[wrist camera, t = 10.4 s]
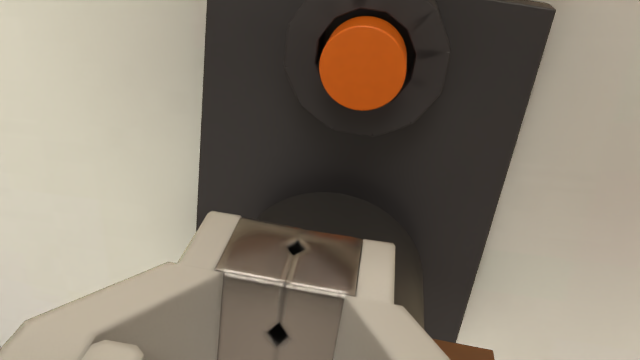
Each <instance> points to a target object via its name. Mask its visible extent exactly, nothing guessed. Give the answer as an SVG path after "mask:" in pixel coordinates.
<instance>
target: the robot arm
mask: <svg viewBox="0 0 640 360" xmlns="http://www.w3.org/2000/svg"><path fill="white" fill-rule="evenodd" d="M394 281H395V245H394V244H393V243H388V242H381V241H374V240H367V239H363V241H362V239H361V238H355V237H349V236H342V235H336V234H330V233H323V232H317V231H311V230H304V229H302V228H297V227H293V226H288V225H283V224H278V223H273V222H268V221H263V220H258V219H253V218H248V217H241V216H240V215H234V214H228V213H222V212H216V211H211V212H209V213H208V214H207V215H206V217H205V219H204V220H203V222H202V223H201V225H200V227H199V228H198V230H197V232H196V233H195V235H194V237H193V238H192V240H191V241H190V243H189V245H188V246H187V248H186V250H185V251H184V253H183V255H182V256H181V258H180V259H179V261H178V263H172V262H167V263H164V264H162V265H159V266H157V267H154V268H152V269H150V270H147V271H145V272H142V273H140V274H137V275H135V276H133V277H130V278H128V279H125V280H123V281H120V282H118V283H116V284H113V285H111V286H108V287H106V288H103V289H101V290H99V291H96V292H94V293H91V294H89V295H87V296H84V297H82V298H79V299H77V300H74V301H72V302H70V303H67V304H65V305H62V306H60V307H57V308H55V309H53V310H50V311H48V312H45V313H43V314H40V315H38V316H36V317H33V318H31V319H28V320H26V321H25V322H24V323H23V324H22V325H21V326H20V327H19V328H18V329H17V331H16V332H15V333H14V334H13V335H12V336H11V337H10V339H9V340H8V341H7V342H6V343H5V344H4V345H3V346H2V348H1V349H0V360H450V359H449V358H448V356H447V355H446V354H445V353H444V352H443V351H442V350H441V348H440V347H439V346H438V345H437V344H436V343H435V342H434V341H433V339H432V338H431V337H430V336H429V335H428V334H427V333H426V332H425V330H424V329H423V328H422V327H421V326H420V325H419V324H418V322H417V321H416V320H415V319H414V318H413V317H412V316H411V315H410V313H409V312H408V311H407V310H406V309H405V308H404V307H403V306H400V305H395V304H394Z"/></svg>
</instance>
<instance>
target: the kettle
mask: <svg viewBox="0 0 640 360" xmlns="http://www.w3.org/2000/svg"><path fill="white" fill-rule="evenodd" d="M256 219H258V220H263V221H268V222H273V223H278V224H283V225H288V226H293V227H297V228H302V229H304V230H311V231H317V232H323V233H330V234H336V235H342V236H349V237H355V238H361V239H362V241H363V239H367V240H374V241H381V242H388V243H393V244H394V245H395V281H394V304H395V305H400V306H403V307H404V308H405V309H406V310H407V311H408V312H409V313H410V315H411V316H412V317H413V318H414V319H415V320H416V321H417V322H418V324H419V325H420V326H421V327H422V328H423V329H424V296H423V270H422V263H421V260H420V256H419V253H418V250H417V248H416V246H415V244H414V242H413V240H412V239H411V237H410V236H409V234H408V233H407V232H406V230H405V229H404V228H403V227H402V226H401V225H400V224H399V223H398V222H397V221H396V220H395V219H394V218H393V217H392V216H390V215H389V214H388V213H386V212H385V211H383V210H382V209H380V208H379V207H377V206H375V205H373V204H371V203H369V202H367V201H365V200H362V199H359V198H356V197H353V196H349V195H345V194H339V193H331V192H315V193H306V194H301V195H297V196H293V197H290V198H287V199H285V200H282V201H280V202H278V203H276V204H274V205H273V206H271V207H269V208H268V209H267V210H265V211H264V212H263V213H261V214H260V215H259V216H258V217H257V218H256ZM433 341H434V342H435V343H436V344H437V345H438V346H439V347H440V348H441V350H442V351H443V352H444V353H445V354H446V355H447V356H448V358H449V359H450V360H494V354H493V351H492V350H488V349H483V348H478V347H473V346H468V345H462V344H457V343H452V342H447V341H442V340H437V339H433Z"/></svg>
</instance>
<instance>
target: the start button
mask: <svg viewBox="0 0 640 360" xmlns="http://www.w3.org/2000/svg"><path fill="white" fill-rule="evenodd" d="M406 72H407V50H406V46H405V42H404V40H403V38H402V36H401V34H400V33H399V32H398V30H397V29H396V28H395V27H394V26H393V25H391V24H390V23H389V22H387V21H385V20H383V19H381V18H378V17H374V16H358V17H354V18H351V19H349V20H347V21H345V22H343V23H342V24H340V25H339V26H338V27H337V28H336V29H335V30H334V31H333V33H332V34H331V36H330V38H329V39H328V41H327V43H326V45H325V47H324V49H323V51H322V53H321V56H320V61H319V74H320V79H321V82H322V84H323V86H324V88H325V90H326V91H327V93H328V94H329V95H330V96H331V98H332V99H334V100H335V101H336V102H337V103H339V104H340V105H342V106H344V107H347V108H349V109H353V110H359V111H368V110H373V109H377V108H380V107H382V106H384V105H386V104H387V103H389V102H390V101H391V100H393V99H394V98H395V97H396V95H397V94H398V93H399V92H400V90H401V88H402V86H403V84H404V81H405V78H406Z"/></svg>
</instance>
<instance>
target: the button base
mask: <svg viewBox="0 0 640 360" xmlns="http://www.w3.org/2000/svg"><path fill="white" fill-rule="evenodd" d="M555 12H556V10H555V9H554V8H553V7H552V6H551V5H549V4H547V3H540V2H534V1H528V0H207V13H206V35H205V56H204V77H203V99H202V120H201V141H200V163H199V184H198V205H197V227H196V232H197V230H198V228H199V227H200V225H201V223H202V222H203V220H204V219H205V217H206V215H207V214H208V213H209V212H211V211H216V212H222V213H228V214H234V215H240V216H241V217H248V218H253V219H256V218H257V217H258V216H259V215H260V214H261V213H263V212H264V211H265V210H267V209H268V208H269V207H271V206H273V205H274V204H276V203H278V202H280V201H282V200H285V199H287V198H290V197H293V196H297V195H301V194H306V193H315V192H331V193H339V194H345V195H349V196H353V197H356V198H359V199H362V200H365V201H367V202H369V203H371V204H373V205H375V206H377V207H379V208H380V209H382V210H383V211H385V212H386V213H388V214H389V215H390V216H392V217H393V218H394V219H395V220H396V221H397V222H398V223H399V224H400V225H401V226H402V227H403V228H404V229H405V230H406V232H407V233H408V234H409V236H410V237H411V239H412V240H413V242H414V244H415V246H416V248H417V250H418V253H419V256H420V260H421V263H422V270H423V296H424V330H425V332H426V333H427V334H428V335H429V336H430V337H431V338H432V339H437V340H442V341H447V342H452V343H456V340H457V337H458V333H459V330H460V327H461V323H462V320H463V317H464V313H465V310H466V307H467V303H468V300H469V297H470V294H471V290H472V287H473V284H474V280H475V277H476V274H477V270H478V267H479V264H480V260H481V257H482V254H483V250H484V247H485V244H486V241H487V237H488V234H489V231H490V227H491V224H492V221H493V217H494V214H495V211H496V207H497V204H498V201H499V197H500V194H501V191H502V187H503V184H504V181H505V178H506V174H507V171H508V168H509V164H510V161H511V158H512V154H513V151H514V148H515V144H516V141H517V138H518V134H519V131H520V128H521V124H522V121H523V118H524V115H525V111H526V108H527V105H528V101H529V98H530V95H531V91H532V88H533V85H534V81H535V78H536V75H537V71H538V68H539V65H540V62H541V58H542V55H543V52H544V48H545V45H546V42H547V38H548V35H549V32H550V28H551V25H552V22H553V18H554V15H555ZM358 16H374V17H378V18H381V19H383V20H385V21H387V22H389V23H390V24H391V25H393V26H394V27H395V28H396V29H397V30H398V32H399V33H400V34H401V36H402V38H403V40H404V42H405V46H406V50H407V72H406V78H405V81H404V84H403V86H402V88H401V90H400V92H399V93H398V94H397V95H396V97H395V98H394V99H393V100H391V101H390V102H389V103H387V104H386V105H384V106H382V107H380V108H377V109H373V110H368V111H359V110H353V109H349V108H347V107H344V106H342V105H340V104H339V103H337V102H336V101H335V100H334V99H332V98H331V96H330V95H329V94H328V93H327V91H326V90H325V88H324V86H323V84H322V82H321V79H320V74H319V61H320V56H321V53H322V51H323V49H324V47H325V45H326V43H327V41H328V39H329V38H330V36H331V34H332V33H333V31H334V30H335V29H336V28H337V27H338V26H339V25H340V24H342V23H343V22H345V21H347V20H349V19H351V18H354V17H358Z"/></svg>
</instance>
